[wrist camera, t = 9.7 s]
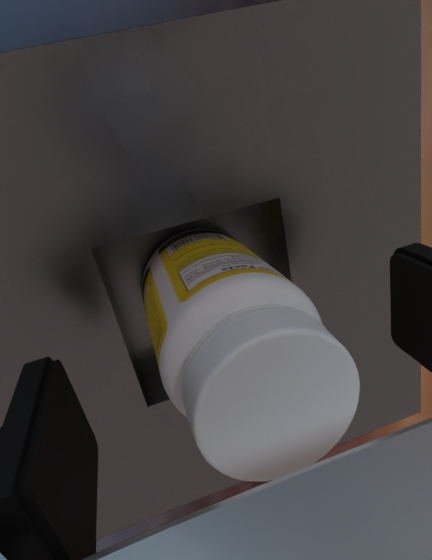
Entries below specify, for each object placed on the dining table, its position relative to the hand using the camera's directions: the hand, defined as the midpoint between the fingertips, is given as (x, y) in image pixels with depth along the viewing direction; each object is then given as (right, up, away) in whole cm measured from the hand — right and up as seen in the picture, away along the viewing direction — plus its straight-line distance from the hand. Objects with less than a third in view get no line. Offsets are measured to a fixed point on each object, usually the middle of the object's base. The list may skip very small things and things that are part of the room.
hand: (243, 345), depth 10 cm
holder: (-2, +2, +6) cm, 7 cm away
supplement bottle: (-1, +2, +6) cm, 6 cm away
